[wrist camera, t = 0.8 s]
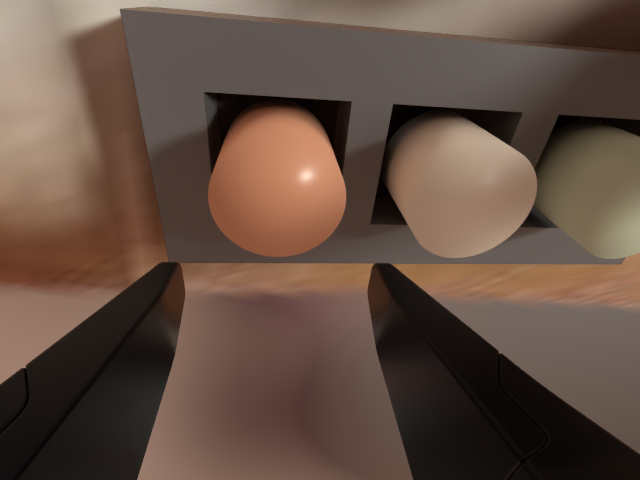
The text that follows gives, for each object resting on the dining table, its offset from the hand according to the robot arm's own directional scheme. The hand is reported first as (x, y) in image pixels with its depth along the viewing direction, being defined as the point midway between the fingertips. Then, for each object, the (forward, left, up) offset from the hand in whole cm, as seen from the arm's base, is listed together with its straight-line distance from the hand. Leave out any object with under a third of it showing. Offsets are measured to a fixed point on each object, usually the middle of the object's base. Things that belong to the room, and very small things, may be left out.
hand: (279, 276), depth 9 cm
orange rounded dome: (0, 0, -8) cm, 8 cm away
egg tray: (-7, 0, -10) cm, 12 cm away
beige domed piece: (-7, 0, -8) cm, 11 cm away
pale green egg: (-14, 0, -8) cm, 16 cm away
